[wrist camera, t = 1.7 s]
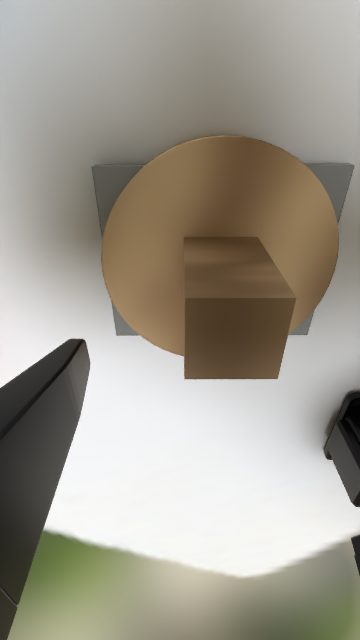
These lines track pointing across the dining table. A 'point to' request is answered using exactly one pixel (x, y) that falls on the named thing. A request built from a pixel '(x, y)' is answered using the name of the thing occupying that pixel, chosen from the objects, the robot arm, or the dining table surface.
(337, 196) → the mat
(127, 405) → the dining table surface
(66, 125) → the dining table surface
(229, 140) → the lid
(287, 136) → the dining table surface
